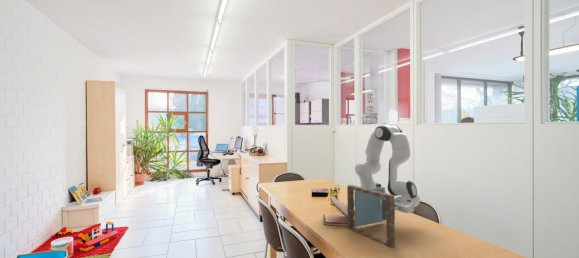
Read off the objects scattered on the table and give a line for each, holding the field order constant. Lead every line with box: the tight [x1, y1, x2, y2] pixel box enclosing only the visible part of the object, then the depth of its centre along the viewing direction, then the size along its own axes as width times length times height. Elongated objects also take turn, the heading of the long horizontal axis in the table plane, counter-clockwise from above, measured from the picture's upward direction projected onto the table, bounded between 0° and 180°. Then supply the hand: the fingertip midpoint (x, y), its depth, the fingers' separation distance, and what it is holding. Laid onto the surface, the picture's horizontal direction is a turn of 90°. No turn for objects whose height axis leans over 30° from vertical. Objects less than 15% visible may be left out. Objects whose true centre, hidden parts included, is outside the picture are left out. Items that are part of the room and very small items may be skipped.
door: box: [354, 186, 386, 228], centre depth 174 cm, size 24×3×23 cm, turn 113°
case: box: [322, 195, 355, 227], centre depth 185 cm, size 20×21×16 cm
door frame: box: [346, 184, 396, 248], centre depth 158 cm, size 32×3×28 cm, turn 33°
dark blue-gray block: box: [382, 199, 396, 221], centre depth 162 cm, size 4×6×12 cm
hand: (387, 207), depth 161 cm, fingers closed on dark blue-gray block, 4 cm apart
